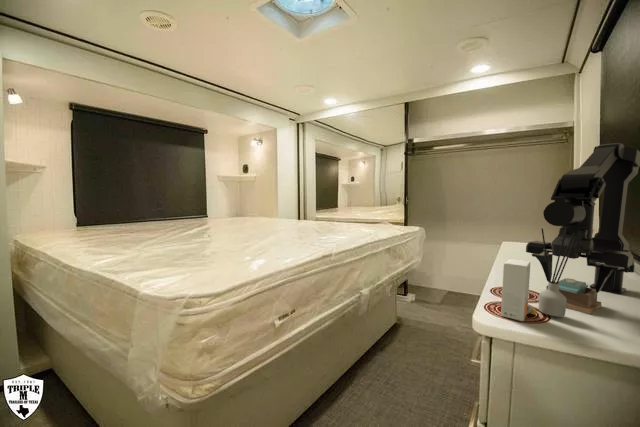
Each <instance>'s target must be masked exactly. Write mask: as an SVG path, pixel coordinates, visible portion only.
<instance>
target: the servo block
mask: <svg viewBox="0 0 640 427" xmlns="http://www.w3.org/2000/svg"><path fill="white" fill-rule="evenodd" d="M558 283H559V290H564V291H568V292H572V293H576V294H577V293H583V294H585V290H586V288H589V284H587V282H586V281H582V280H581V281H579V280H576V279H574V278H570V277H569V278H568V277H567V278H563V279H561V280H559V282H558Z"/></svg>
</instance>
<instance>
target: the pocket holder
mask: <svg viewBox="0 0 640 427" xmlns="http://www.w3.org/2000/svg"><path fill="white" fill-rule="evenodd" d="M545 288H546V289H545V290H547V289H548V285H546V287H545ZM559 292H560V293H562V294H563V295H564V296H565V297H566V299H567V304H566V309H570V310H573V311H577V312H580V313H584V314H587V315H592V314H593V313H594V312H595V311H597V310H598V309H599V308H601V307H602V301H599V300H598V293H597V292H596V289H595V288H591V287H587V288H586V290H585V294H583V293H577V294H576V293H572V292H568V291H564V290H559Z"/></svg>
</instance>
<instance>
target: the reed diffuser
mask: <svg viewBox="0 0 640 427" xmlns="http://www.w3.org/2000/svg"><path fill="white" fill-rule="evenodd" d="M566 231H567V227H566V229H565V233H564V236H563V240H562V244H561V248H560V252H559V256H557V260H556V264H555V267H554V268H555V269H554V271H553V274H552V278H551V280H550V273H549V266H548V260H547V253H546V246H545V242H546V240H545V239H546V238H545V233H544V228H541V235H542V242H543V243H544V250H545V257H546V263H547V270H548V277H549V282H548V281H547V283H548V284H547V286H548V289H547V290H546V289H545V290H542V291H541V292H540V293H539V295H538V310H539V312H541V313H543V314H545V315H550V316H553V317H558V318H559V317H564V316H566V309H567V308H566V304H567V299H566V297H565V296H564V295H563V294H562V293H560V292H559V283H558V282H559V281H560V279H561V277H562V275H563V272H564V269H565V267H566V265H567V263H568V260H569V259H570V258H569V255H570V253H571V250H572V248H573V245H574V243H575V241H576V238H577V236H578V233H579V231H580V230H578V232H577V234H576V236H575V239H574V241H573V244H572V246H571V249H570V251H569V253H568V256H567V257H565V256H566V254H567V251H568V249H569V246H570V244H571V241H572V239H573V237H574V234H575V233H573V234H572V237H571V239H570V242H569V244H568V247H567V249H566V252H565V254H564V257H563V256H562V260H561V261H560V258H561V256H560V254H561V251H562V247H563V243H564V239H565V235H566ZM559 262H560V265H558V264H559ZM563 263H564V264H563ZM562 265H563V266H562ZM558 266H559V267H558ZM560 270H561V271H560ZM556 280H557V281H556ZM533 307H534V306H533V305H531V304H529V303H528V309H527V315H529V314H531V315H533V316H535V315H536V314H537V310H536V309H535V308H533Z"/></svg>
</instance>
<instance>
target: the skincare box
mask: <svg viewBox="0 0 640 427" xmlns="http://www.w3.org/2000/svg"><path fill="white" fill-rule="evenodd" d="M502 269H503V271H502V289H501V290H502V293H501V305H500V306H501V307H500V308H501V309H500V316H501V317H504V318H509V319H512V320H515V321H520V322H524V321H525V318H526V316H527V315H528V314H527V309H528V304H529V295H530V294H529V292H530V279H531V278H530V277H531V261H529V260H528V261H527V260H520V259H515V258H514V259H513V258H509V259H508V260H506V261H505V262H504V263H503V268H502Z"/></svg>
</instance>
